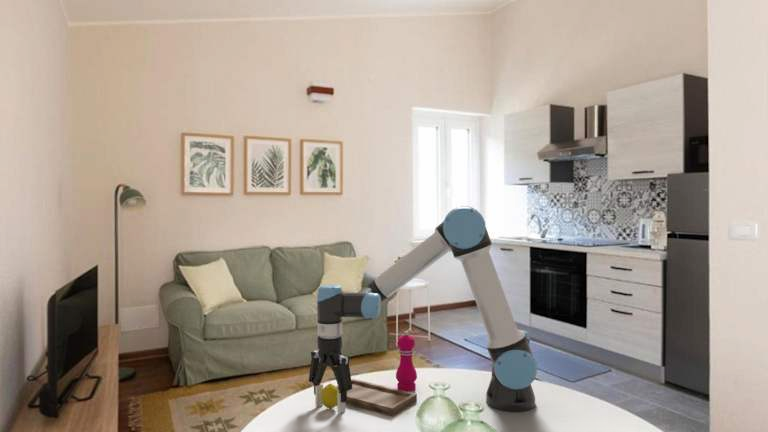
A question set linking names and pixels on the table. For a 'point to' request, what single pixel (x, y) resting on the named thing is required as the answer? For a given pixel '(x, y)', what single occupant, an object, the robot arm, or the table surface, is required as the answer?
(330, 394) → the lemon
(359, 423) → the table surface
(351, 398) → the walnut tray
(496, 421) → the table surface
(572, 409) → the table surface
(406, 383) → the pepper mill
